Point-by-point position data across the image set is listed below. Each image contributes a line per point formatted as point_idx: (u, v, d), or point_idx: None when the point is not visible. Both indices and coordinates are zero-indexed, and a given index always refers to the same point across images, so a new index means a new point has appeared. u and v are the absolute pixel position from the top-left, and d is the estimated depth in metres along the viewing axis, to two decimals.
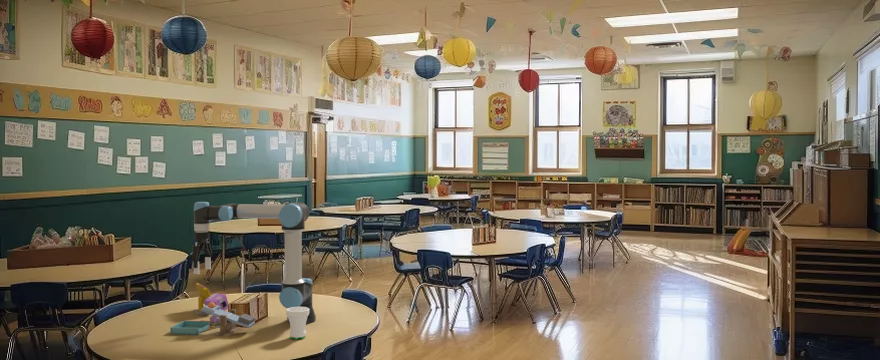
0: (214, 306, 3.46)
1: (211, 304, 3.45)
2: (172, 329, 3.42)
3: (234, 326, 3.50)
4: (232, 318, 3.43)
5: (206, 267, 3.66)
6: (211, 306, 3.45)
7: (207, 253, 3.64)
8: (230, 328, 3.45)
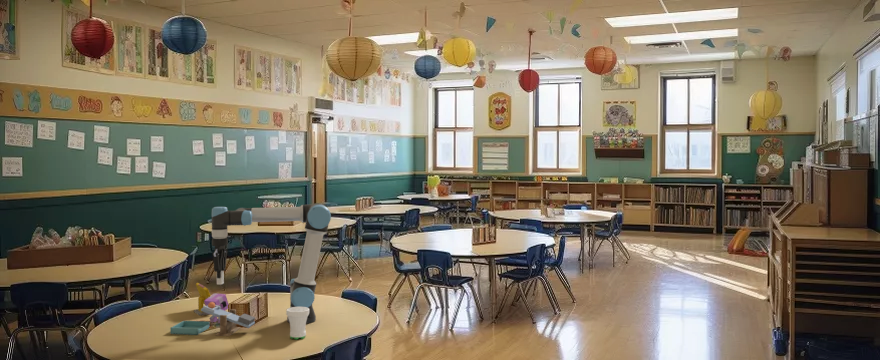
0: (214, 306, 3.46)
1: (211, 304, 3.45)
2: (172, 329, 3.42)
3: (234, 326, 3.50)
4: (232, 318, 3.43)
5: None
6: (211, 306, 3.45)
7: None
8: (230, 328, 3.45)
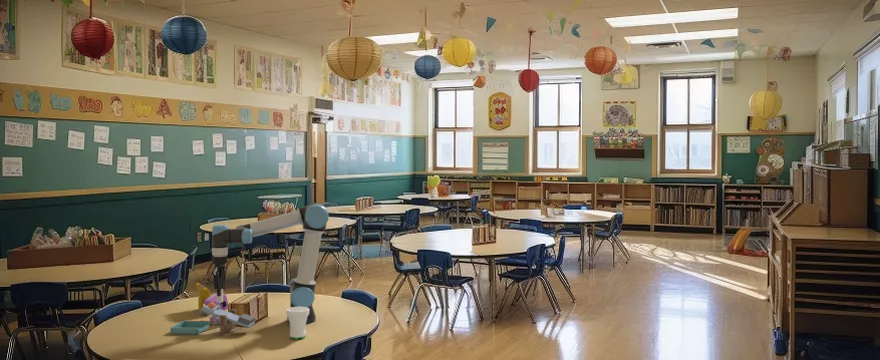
0: (214, 306, 3.46)
1: (211, 304, 3.45)
2: (172, 329, 3.42)
3: (234, 326, 3.50)
4: (232, 318, 3.43)
5: None
6: (211, 306, 3.45)
7: None
8: (230, 328, 3.45)
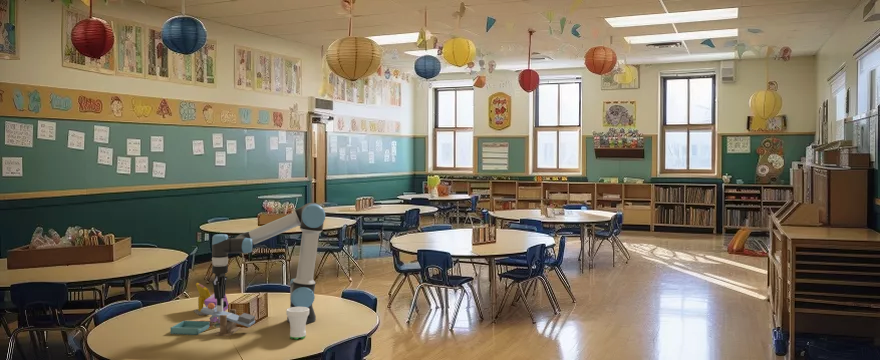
0: (214, 307, 3.46)
1: (211, 305, 3.45)
2: (172, 329, 3.42)
3: (234, 326, 3.50)
4: (232, 318, 3.43)
5: None
6: (211, 307, 3.45)
7: None
8: (230, 328, 3.45)
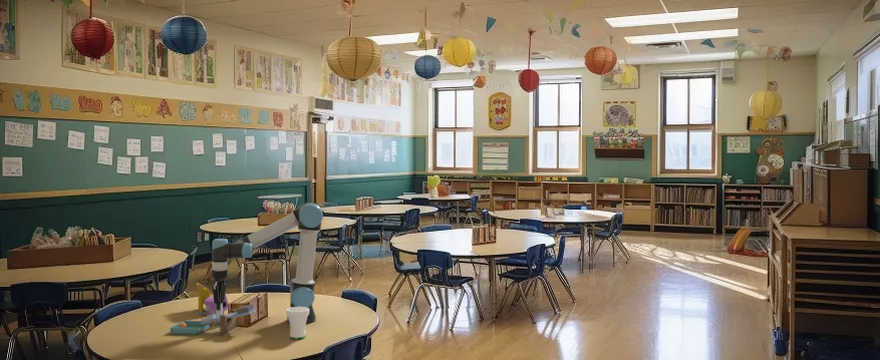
0: None
1: (180, 327, 3.47)
2: (172, 329, 3.42)
3: (234, 326, 3.50)
4: (231, 315, 3.43)
5: None
6: (180, 326, 3.47)
7: None
8: (230, 328, 3.45)
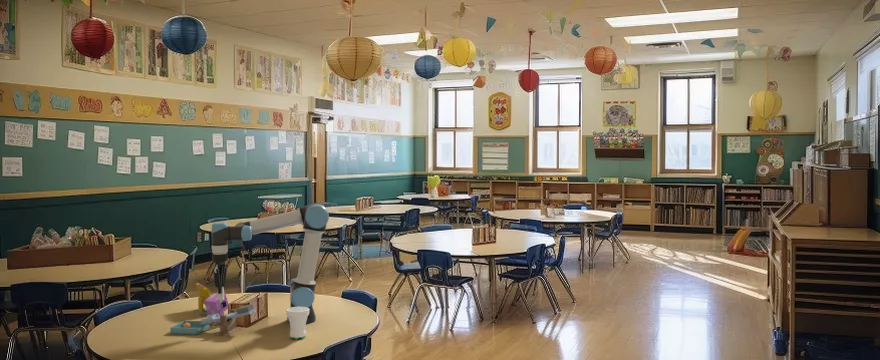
0: None
1: (183, 325, 3.47)
2: (172, 329, 3.42)
3: (234, 326, 3.50)
4: (231, 315, 3.43)
5: None
6: (185, 325, 3.47)
7: None
8: (230, 328, 3.45)
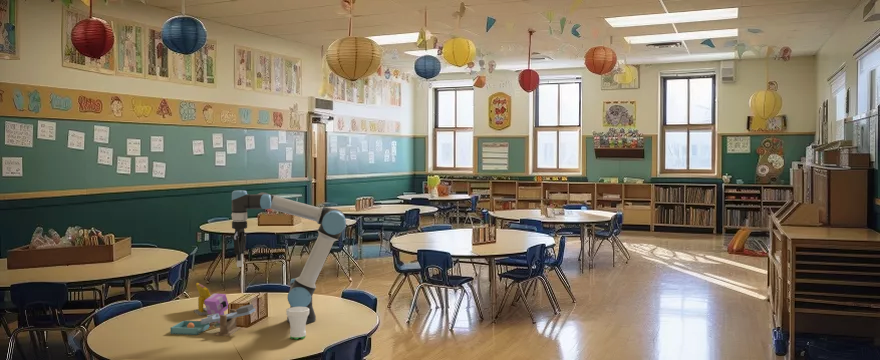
0: (193, 325, 3.47)
1: (189, 324, 3.47)
2: (172, 329, 3.42)
3: (234, 326, 3.50)
4: (231, 315, 3.43)
5: None
6: (190, 326, 3.46)
7: None
8: (230, 328, 3.45)
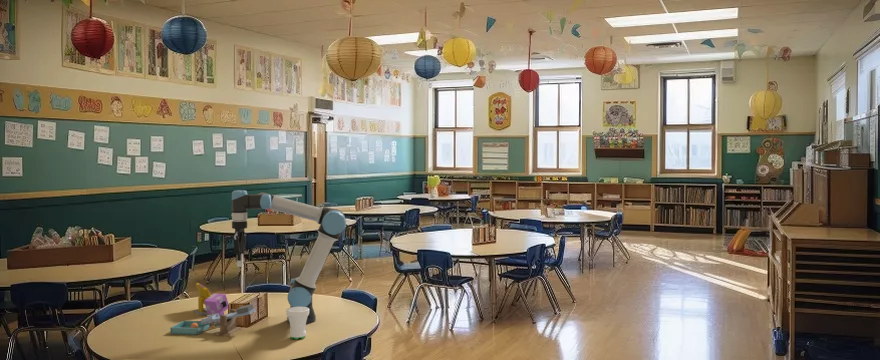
0: None
1: (195, 326, 3.46)
2: (172, 329, 3.42)
3: (234, 326, 3.50)
4: (231, 315, 3.43)
5: None
6: None
7: None
8: (230, 328, 3.45)
